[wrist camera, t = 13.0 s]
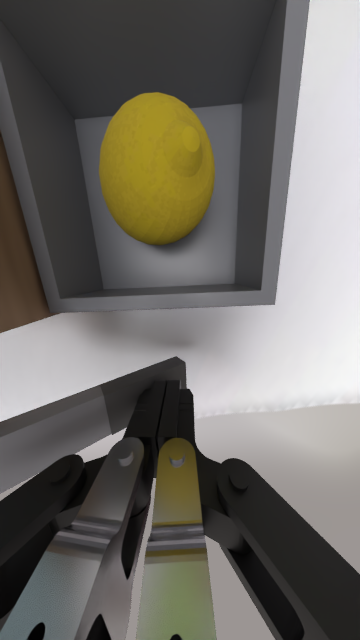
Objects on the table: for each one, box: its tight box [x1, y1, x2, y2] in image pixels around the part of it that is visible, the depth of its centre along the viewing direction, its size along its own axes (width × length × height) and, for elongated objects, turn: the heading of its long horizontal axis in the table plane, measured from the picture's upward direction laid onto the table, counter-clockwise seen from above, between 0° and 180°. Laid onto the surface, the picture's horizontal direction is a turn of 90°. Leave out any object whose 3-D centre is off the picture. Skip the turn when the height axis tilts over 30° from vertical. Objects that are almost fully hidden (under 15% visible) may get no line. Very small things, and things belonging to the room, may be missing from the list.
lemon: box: [99, 92, 215, 245], centre depth 9 cm, size 6×6×8 cm
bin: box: [0, 0, 310, 313], centre depth 10 cm, size 13×13×6 cm
